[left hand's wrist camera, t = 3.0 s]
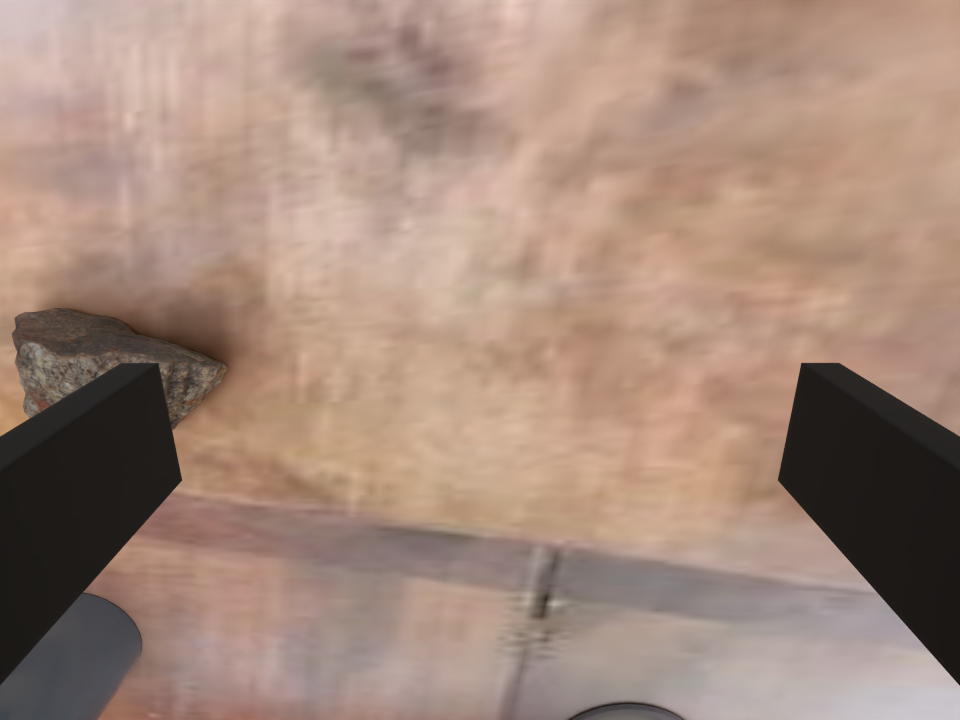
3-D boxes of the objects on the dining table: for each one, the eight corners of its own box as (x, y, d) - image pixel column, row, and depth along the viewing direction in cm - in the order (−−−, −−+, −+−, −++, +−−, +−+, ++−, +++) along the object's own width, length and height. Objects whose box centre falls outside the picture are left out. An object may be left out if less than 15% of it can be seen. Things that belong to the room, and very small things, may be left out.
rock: (43, 263, 40) (31, 391, 43) (-80, 289, 32) (-84, 444, 35) (247, 335, 41) (220, 456, 44) (177, 378, 32) (150, 523, 36)
